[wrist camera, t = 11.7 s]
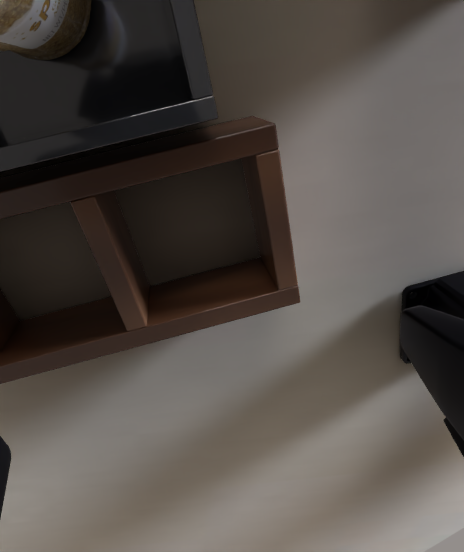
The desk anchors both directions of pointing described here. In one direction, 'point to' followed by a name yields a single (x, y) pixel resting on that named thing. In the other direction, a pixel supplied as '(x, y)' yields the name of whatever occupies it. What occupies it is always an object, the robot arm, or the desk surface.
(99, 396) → the desk surface
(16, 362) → the rack
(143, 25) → the dark grey open box
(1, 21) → the sprinkles bottle
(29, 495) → the desk surface
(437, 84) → the desk surface
